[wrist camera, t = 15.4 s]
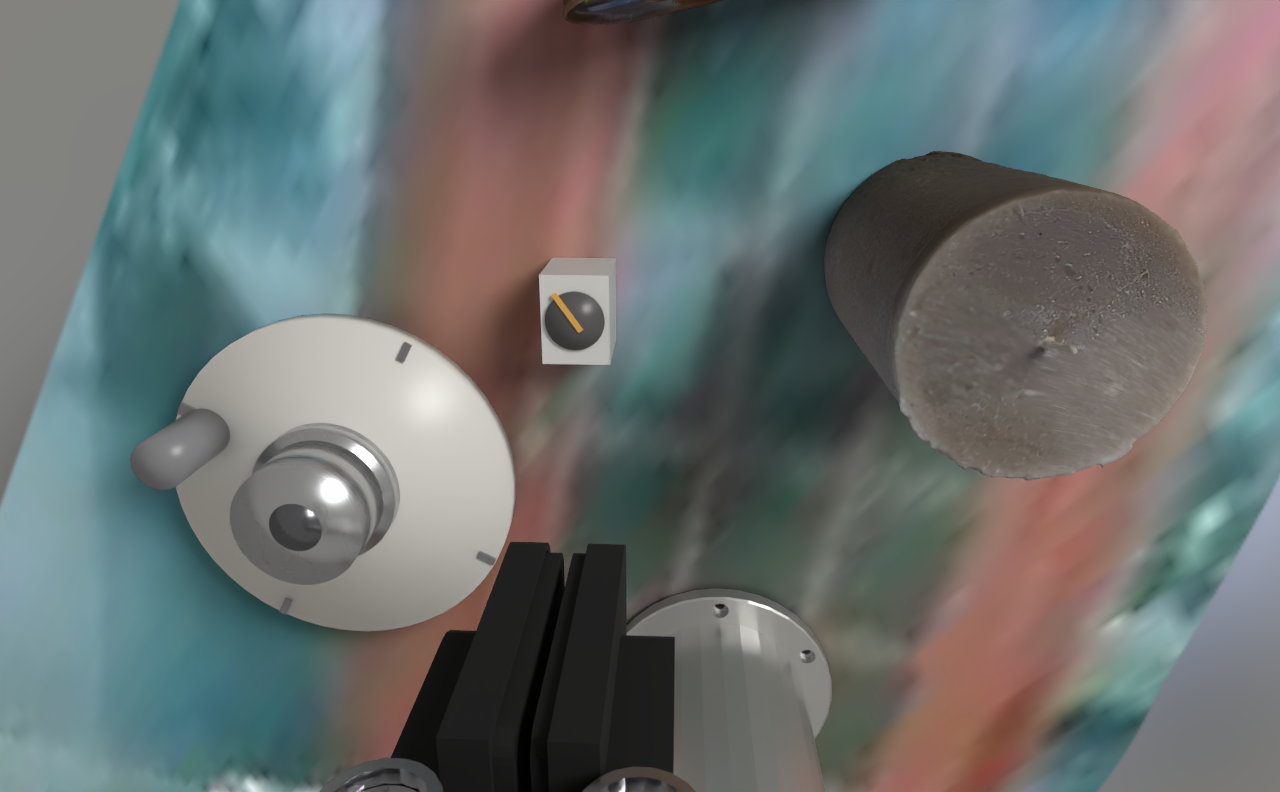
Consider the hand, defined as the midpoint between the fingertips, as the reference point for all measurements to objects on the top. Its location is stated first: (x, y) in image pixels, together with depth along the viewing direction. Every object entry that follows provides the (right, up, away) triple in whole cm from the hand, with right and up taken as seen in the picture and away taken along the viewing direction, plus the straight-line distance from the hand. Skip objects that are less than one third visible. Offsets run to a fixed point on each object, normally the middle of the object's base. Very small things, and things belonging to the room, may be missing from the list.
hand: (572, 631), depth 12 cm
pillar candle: (+14, +10, +27) cm, 32 cm away
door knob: (-14, -1, +29) cm, 33 cm away
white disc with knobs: (-14, 0, +32) cm, 35 cm away
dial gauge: (-2, +8, +28) cm, 29 cm away
